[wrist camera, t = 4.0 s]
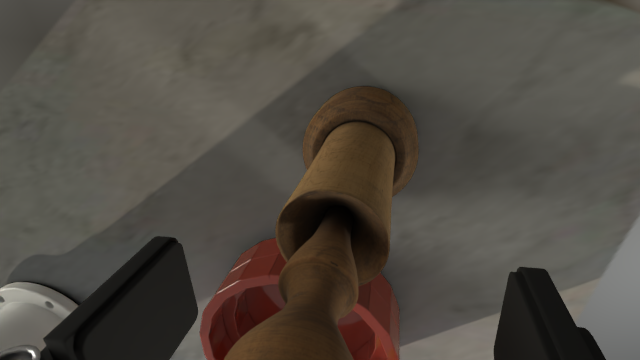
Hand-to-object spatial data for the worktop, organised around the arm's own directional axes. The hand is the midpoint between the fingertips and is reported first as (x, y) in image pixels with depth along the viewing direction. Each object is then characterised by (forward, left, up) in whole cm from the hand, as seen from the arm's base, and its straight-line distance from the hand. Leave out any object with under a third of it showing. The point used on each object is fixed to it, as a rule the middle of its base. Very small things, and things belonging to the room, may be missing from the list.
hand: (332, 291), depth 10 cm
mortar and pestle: (0, 0, -13) cm, 13 cm away
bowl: (-4, -13, -13) cm, 19 cm away
